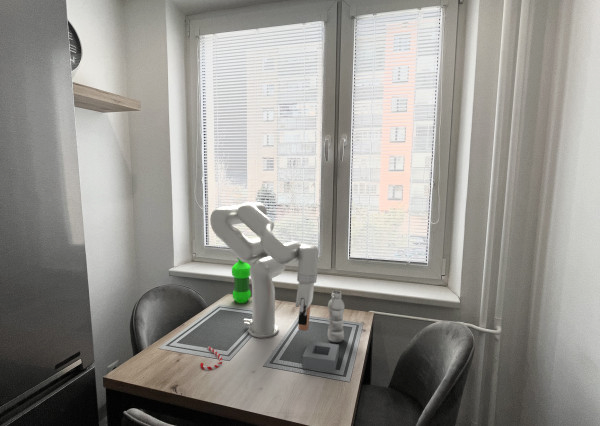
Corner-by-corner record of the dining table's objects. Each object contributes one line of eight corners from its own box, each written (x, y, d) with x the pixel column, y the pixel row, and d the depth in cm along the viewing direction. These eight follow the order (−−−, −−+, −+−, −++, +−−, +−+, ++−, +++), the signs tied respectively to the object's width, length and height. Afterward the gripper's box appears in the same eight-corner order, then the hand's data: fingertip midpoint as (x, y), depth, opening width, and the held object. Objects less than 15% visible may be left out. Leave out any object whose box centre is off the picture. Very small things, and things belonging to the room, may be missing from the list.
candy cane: (217, 344, 125) (224, 364, 111) (217, 347, 125) (224, 368, 111) (196, 348, 122) (201, 369, 108) (196, 351, 122) (201, 373, 108)
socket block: (302, 368, 111) (302, 356, 110) (309, 352, 121) (309, 340, 121) (334, 373, 108) (334, 360, 108) (338, 356, 119) (338, 344, 118)
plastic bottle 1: (234, 297, 177) (234, 252, 174) (253, 298, 176) (253, 253, 173) (229, 304, 167) (228, 256, 165) (249, 305, 166) (249, 257, 164)
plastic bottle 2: (343, 345, 127) (344, 296, 125) (326, 343, 128) (327, 294, 126) (344, 337, 133) (345, 290, 131) (328, 336, 134) (329, 289, 132)
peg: (297, 329, 127) (298, 305, 126) (299, 325, 131) (301, 301, 130) (307, 331, 126) (309, 306, 125) (309, 326, 130) (311, 303, 129)
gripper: (302, 269, 135) (299, 311, 137) (291, 282, 119) (288, 329, 121) (320, 272, 133) (317, 314, 135) (311, 285, 117) (308, 333, 119)
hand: (303, 321), depth 128 cm, fingers closed on peg, 4 cm apart
